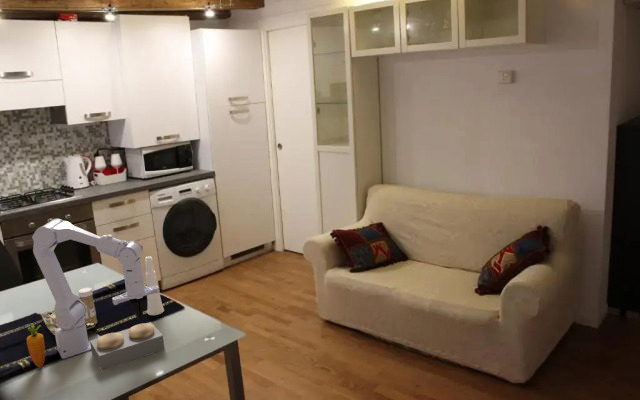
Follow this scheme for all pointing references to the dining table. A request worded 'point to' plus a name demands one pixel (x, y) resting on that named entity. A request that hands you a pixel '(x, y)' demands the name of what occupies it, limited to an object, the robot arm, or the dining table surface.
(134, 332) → the right peg
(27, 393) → the dining table surface
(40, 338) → the carrot
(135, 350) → the peg block
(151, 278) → the cosmetic bottle
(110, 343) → the left peg
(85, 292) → the sprinkles bottle
